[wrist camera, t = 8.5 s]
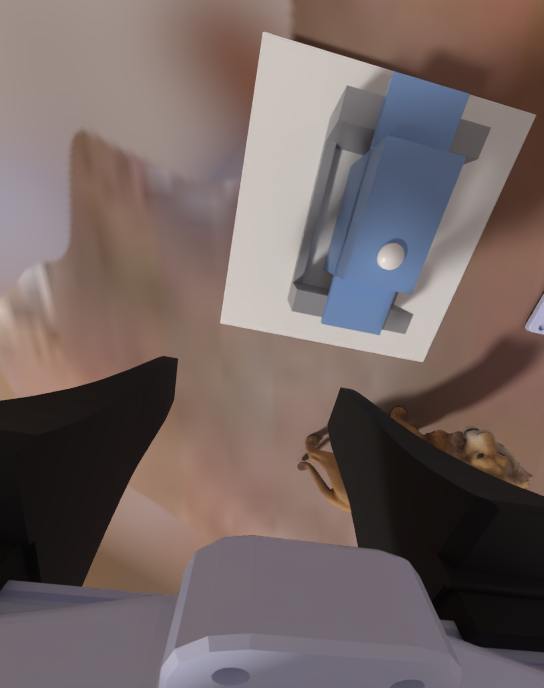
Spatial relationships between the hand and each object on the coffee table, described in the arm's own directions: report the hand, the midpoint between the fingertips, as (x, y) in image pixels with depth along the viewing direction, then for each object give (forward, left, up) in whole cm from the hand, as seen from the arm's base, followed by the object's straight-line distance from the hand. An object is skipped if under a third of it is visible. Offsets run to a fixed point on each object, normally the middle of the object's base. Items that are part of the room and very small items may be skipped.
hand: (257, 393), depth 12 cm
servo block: (-5, -8, -8) cm, 13 cm away
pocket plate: (-5, -8, -9) cm, 13 cm away
